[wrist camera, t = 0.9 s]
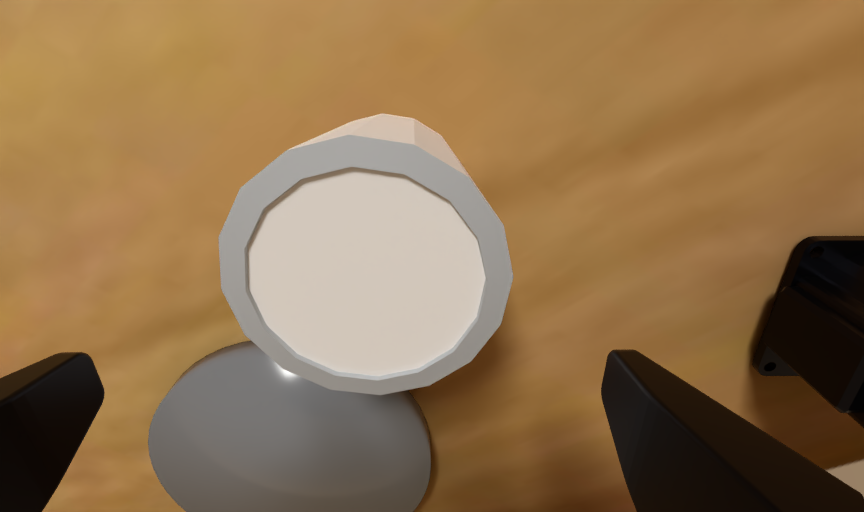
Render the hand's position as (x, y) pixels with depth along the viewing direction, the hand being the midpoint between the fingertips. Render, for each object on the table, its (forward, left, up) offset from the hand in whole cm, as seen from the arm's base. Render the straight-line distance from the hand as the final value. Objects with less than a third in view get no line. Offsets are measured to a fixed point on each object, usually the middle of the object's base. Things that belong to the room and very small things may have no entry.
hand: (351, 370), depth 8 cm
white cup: (0, 0, -10) cm, 10 cm away
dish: (+5, +13, -10) cm, 17 cm away
